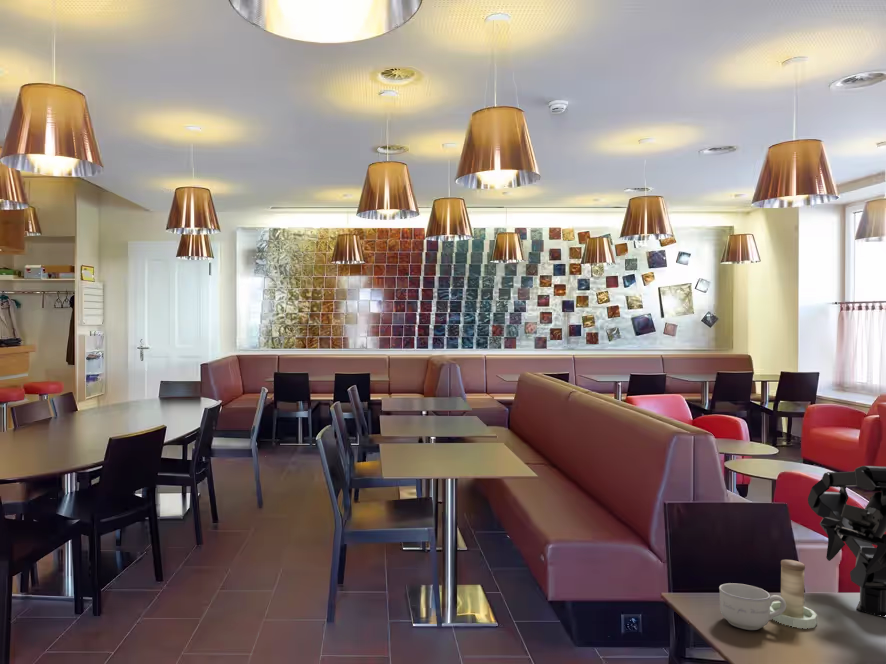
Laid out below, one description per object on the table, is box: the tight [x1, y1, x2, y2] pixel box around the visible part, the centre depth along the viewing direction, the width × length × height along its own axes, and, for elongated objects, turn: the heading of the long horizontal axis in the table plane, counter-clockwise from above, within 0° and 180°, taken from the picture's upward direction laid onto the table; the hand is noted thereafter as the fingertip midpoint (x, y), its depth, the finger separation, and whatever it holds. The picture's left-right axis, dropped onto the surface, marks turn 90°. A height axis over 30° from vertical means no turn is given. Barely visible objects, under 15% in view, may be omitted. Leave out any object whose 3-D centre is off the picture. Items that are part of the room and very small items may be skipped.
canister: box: [780, 559, 806, 618], centre depth 147 cm, size 5×5×12 cm
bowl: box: [770, 600, 818, 630], centre depth 147 cm, size 10×10×2 cm
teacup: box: [718, 582, 786, 631], centre depth 142 cm, size 14×11×8 cm
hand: (846, 566), depth 145 cm, fingers open, 9 cm apart
